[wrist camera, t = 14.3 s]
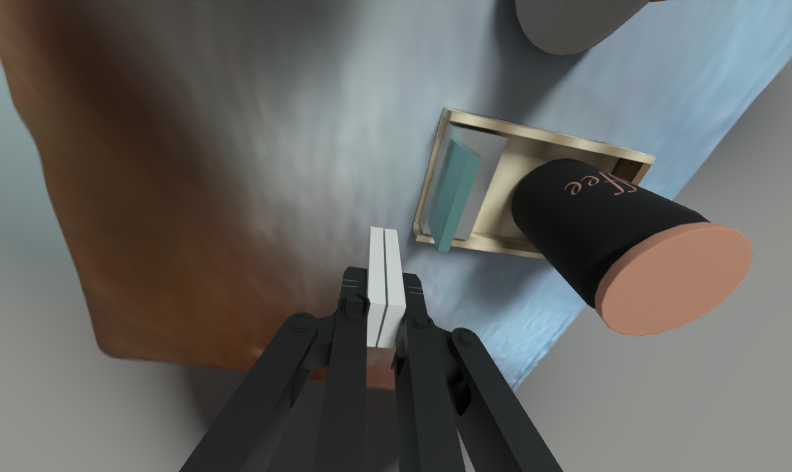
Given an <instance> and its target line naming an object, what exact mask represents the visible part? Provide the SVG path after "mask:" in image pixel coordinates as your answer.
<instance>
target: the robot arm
mask: <svg viewBox="0 0 792 472" xmlns="http://www.w3.org/2000/svg"><path fill="white" fill-rule="evenodd" d="M377 337H378V347H383V348H394V345H395V341H396V352H395V355H394V358H393V362H392V365H391V369H393V368H394V371H395V392H396V413H397V435H398V455H399V472H466V471H465V465H464V461H463V456H462V451H461V447H460V442H459V437H458V433H457V429H458V431H459V434H460V436H461V439H462V441H463V443H464V446H465V448H466V450H467V453H468V455H469V458H470V460H471V462H472V464H473V467H474V469H475V471H476V472H563V471H562V469H561V467H560V466H559V464H558V463H557V461H556V459H555V458H554V456H553V455H552V453H551V452H550V450H549V448H548V447H547V445H546V444H545V442H544V440H543V439H542V437H541V436H540V434H539V433H538V431H537V429H536V428H535V426H534V425H533V423H532V421H531V420H530V418H529V417H528V415H527V413H526V412H525V410H524V409H523V407H522V406H521V404H520V402H519V401H518V399H517V398H516V396H515V394H514V393H513V391H512V390H511V388H510V387H509V385H508V383H507V382H506V380H505V379H504V377H503V375H502V374H501V372H500V371H499V369H498V367H497V366H496V364H495V363H494V361H493V360H492V358H491V356H490V355H489V353H488V352H487V350H486V348H485V347H484V345H483V344H482V342H481V341H480V339H479V338H478V336H477V335H476V334H475V333H474V332H472V331H471V330H469V329H466V328H456V329H454V330H453V332H449V331H446V330H444V329H441V328H439V327H437V326H436V325H434V322H433V320H432V319H431V318H430V317H429V316H428V314H427V310H426V305H425V300H424V295H423V290H422V285H421V281H420V279H419V278H418V277H417V275H416V274H409V273H402V270H401V261H400V253H399V245H398V237H397V230H391V229H385V230H384V235H383V228H378V227H371V228H370V234H369V239H368V245H367V250H366V256H365V261H364V268H357V267H348V268H347V269H346V270H345V272H344V276H343V282H342V288H341V294H340V299H339V302H338V309H337V310H336V312H335V313H334V314H332V315H330V316H328V317H325V318H320V319H316V318H315V317H314V316H313V315H311V314H309V313H296V314H294V315H292V316H290V317H289V318H288V319H287V320H286V321H285V322H284V323H283V325H282V326H281V328H280V329H279V330H278V332H277V333H276V335H275V336H274V338H273V339H272V340H271V342H270V343H269V345H268V346H267V347H266V349H265V350H264V352H263V353H262V355H261V356H260V357H259V359H258V360H257V362H256V363H255V364H254V366H253V367H252V369H251V370H250V372H249V373H248V374H247V376H246V377H245V379H244V380H243V382H242V383H241V384H240V386H239V387H238V389H237V390H236V391H235V393H234V394H233V396H232V397H231V399H230V400H229V401H228V403H227V404H226V406H225V407H224V408H223V410H222V411H221V413H220V414H219V416H218V417H217V418H216V420H215V421H214V423H213V424H212V426H211V427H210V429H209V430H208V431H207V433H206V434H205V435H204V437H203V438H202V440H201V441H200V443H199V444H198V445H197V447H196V448H195V450H194V451H193V452H192V454H191V456H190V457H189V458H188V460H187V461H186V463H185V464H184V465H183V467H182V468H181V470H180V471H179V472H265V470H266V468H267V466H268V464H269V462H270V460H271V457H272V455H273V453H274V451H275V449H276V447H277V445H278V443H279V441H280V439H281V437H282V435H283V433H284V430H285V428H286V426H287V424H288V422H289V420H290V418H291V416H292V414H293V412H294V410H295V407H296V406H297V403H298V401H299V399H300V397H301V395H302V393H303V391H304V389H305V387H306V384H307V383H308V381H309V379H310V376H311V374H312V372H313V370H314V369H317V368H321V367H325V366H329V369H328V376H327V382H326V389H325V396H324V402H323V408H322V415H321V422H320V428H319V436H318V441H317V448H316V455H315V461H314V467H313V472H364V438H365V436H364V435H365V399H366V398H365V397H366V362H367V346H371V347H375V345H376V341H377ZM456 427H457V428H456Z"/></svg>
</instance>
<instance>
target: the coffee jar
mask: <svg viewBox="0 0 792 472" xmlns="http://www.w3.org/2000/svg"><path fill="white" fill-rule="evenodd" d="M511 212H512V216H513V220H514V222H515V224H516V225H517V226H518V228H519V229H520V230H521V231H522V232H523V233H524V234H525V236H526V237H527V238H528V239H529V240H530V241H531V242H532V243H533V244H534V246H535V247H536V248H537V249H538V250H539V251H540V252H541V253H542V254H543V256H544V257H545V258H546V259H547V260H548V261H549V262H550V263H551V264H552V266H553V267H554V268H555V269H556V270H557V271H558V272H559V273H560V274H561V276H562V277H563V278H564V279H565V280H566V281H567V282H568V283H569V284H570V286H571V287H572V288H573V289H574V290H575V291H576V292H577V293H578V294H579V296H580V297H581V298H582V299H583V300H584V301H585V302H586V303H587V304H588V305H589V306H590V307H592V308H594V309H596V311H597V313H598V314H599V315H600V317H601V318H602V319H603V321H604V322H605V323H606V325H607V326H608V327H609V328H610V329H613V330H615V331H617V332H619V333H621V334H626V335H636V336H643V335H651V334H659V333H662V332H665V331H668V330H672V329H675V328H678V327H681V326H683V325H685V324H687V323H689V322H691V321H693V320H696V319H698V318H699V317H701V316H703V315H704V314H706V313H707V312H709V311H710V310H712V309H713V308H715V307H716V306H718V305H719V304H720V303H722V302H723V301H724V300H725V299H726V298H727V297H728V296H729V295H730V294H731V293H732V292H733V291H734V290H735V289H736V288H737V287H738V286H739V284H740V283H741V281H742V280H743V278H744V277H745V275H746V274H747V273H748V271H749V267H750V264H751V260H752V257H753V253H752V249H751V245H750V241H749V240H748V239H747V238H746V237H745V236H743V235H742V234H741V233H740V232H738V231H737V230H736V229H733V228H730V227H727V226H724V225H719V224H713V223H711V222H709V221H708V220H707V219H705V218H704V217H703V216H702V215H700V214H699V213H698V212H696V211H693V210H691V209H689V208H686V207H684V206H682V205H680V204H677V203H675V202H673V201H671V200H668V199H666V198H664V197H662V196H659V195H657V194H655V193H653V192H650V191H648V190H646V189H644V188H641V187H639V186H637V185H634V184H632V183H630V182H628V181H625V180H623V179H621V178H619V177H616V176H614V175H612V174H610V173H607V172H605V171H603V170H600V169H598V168H596V167H594V166H591V165H589V164H587V163H585V162H582V161H579V160H575V159H570V158H566V159H558V160H552V161H550V162H547V163H545V164H543V165H540V166H538V167H537V168H535V169H534V170H533V171H531V172H530V173H529V174H527V175H526V176H525V178H524V179H523V180H522V181H521V182H520V184H519V185H518V187H517V189H516V191H515V194H514V196H513V198H512V207H511Z"/></svg>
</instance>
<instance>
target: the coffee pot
mask: <svg viewBox="0 0 792 472" xmlns="http://www.w3.org/2000/svg"><path fill="white" fill-rule="evenodd" d="M657 1H665V0H515V4H516V12H517V17H518V20H519V22H520V25H521V27H522V30H523V32H524V34H525V35H526V36H527V37H528V39H529V40H530V41H531V42H532V44H533V45H535V46H536V47H538V48H539V49H541V50H543V51H544V52H546V53H550V54H556V55H561V56H563V55H570V54H577V53H580V52H582V51H584V50H587V49H589V48H591V47H594V46H596V45H597V44H598V43H600V42H601V41H603V40H604V39H605V38H607V37H608V36H609V35H611V34H612V33H613V32H614V31H616V30H617V29H618V28H619V27H620V26H621V25H623V24H624V23H625V22H626V21H627V20H629V19H630V18H631V17H632V16H633V15H634V14H636V13H637V12H638V11H639V10H640V9H641V8H643V7H644V6H645V5H646V4H647V3H648V2H657Z"/></svg>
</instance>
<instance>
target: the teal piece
mask: <svg viewBox="0 0 792 472" xmlns="http://www.w3.org/2000/svg"><path fill="white" fill-rule="evenodd" d="M507 140H508V138H507V137H505V136H503V135H501V134H499V133H498V132H494V131H489V130H485V129H480V128H475V127H471V126H466V125H461V124H457V123H452V122H448V121H447V122H446V125H445V129H444V133H443V136H442V140H441V144H440V147H439V151H438V154H437V158H436V162H435V165H434V169H433V173H432V176H431V180H430V183H429V187H428V191H427V194H426V198H425V202H424V205H423V209H422V213H421V216H420V220H419V223H420V226H421V230H422V233H424V234H430V235H432V237H433V240H434V243H435V246H436V249H437V251H438V252H445V253H449V250H450V247H451V244H452V241H453V239H454V238H457V239H464V240H469V237H470V235H471V232H472V230H473V227H474V225H475V222H476V220H477V217H478V214H479V212H480V209H481V207H482V204H483V202H484V199H485V196H486V194H487V191H488V189H489V186H490V184H491V181H492V178H493V176H494V173H495V171H496V168H497V166H498V163H499V161H500V158H501V155H502V153H503V150H504V148H505V145H506V143H507Z"/></svg>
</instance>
